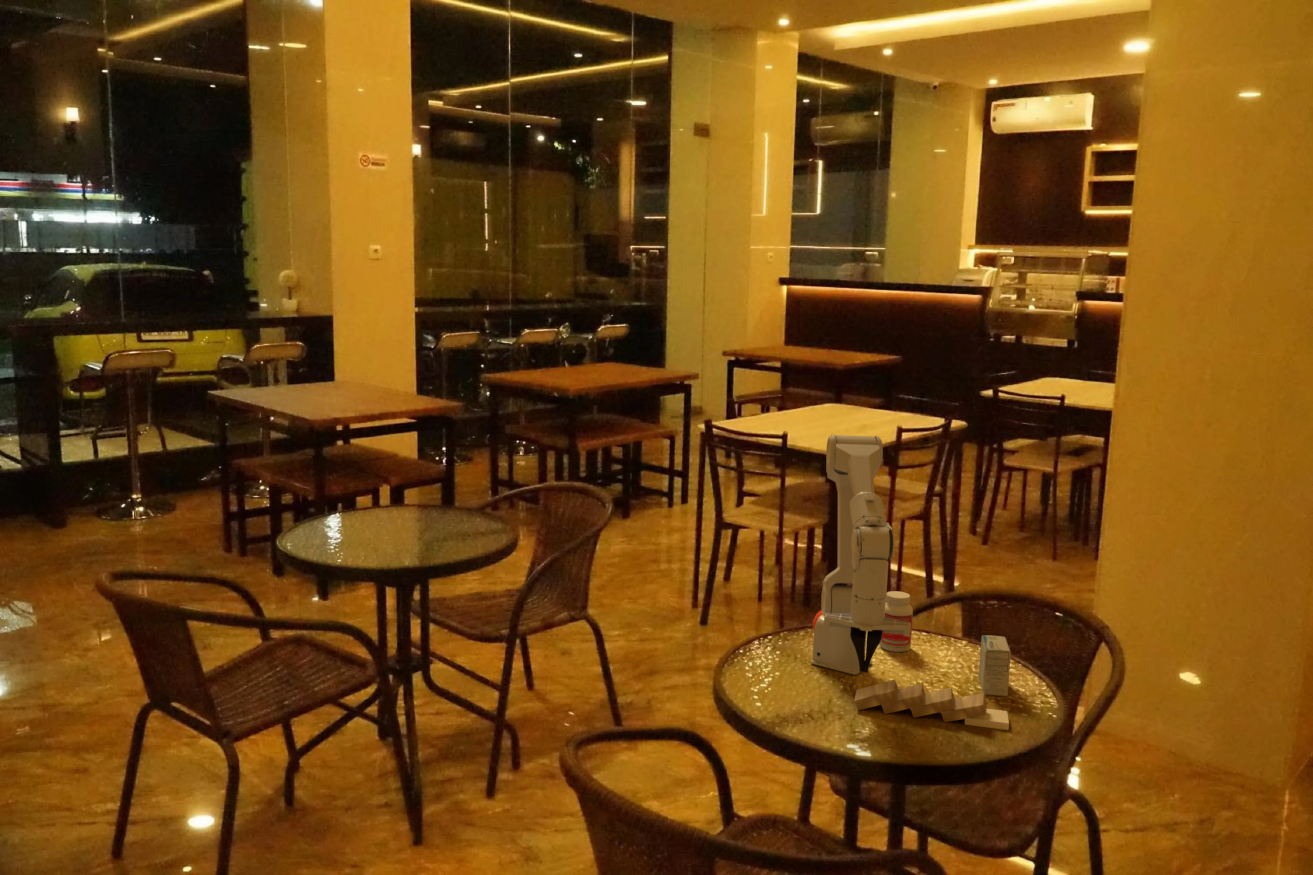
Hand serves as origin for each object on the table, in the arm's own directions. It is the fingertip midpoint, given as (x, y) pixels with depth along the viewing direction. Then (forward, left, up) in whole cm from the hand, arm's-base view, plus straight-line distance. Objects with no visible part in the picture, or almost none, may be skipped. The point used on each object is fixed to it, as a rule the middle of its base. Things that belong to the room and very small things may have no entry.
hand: (864, 670), depth 180 cm
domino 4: (+13, +4, -5) cm, 15 cm away
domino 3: (+8, +3, -6) cm, 10 cm away
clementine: (-18, +25, -7) cm, 32 cm away
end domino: (+16, +6, -6) cm, 18 cm away
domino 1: (-1, -1, -6) cm, 6 cm away
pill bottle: (-6, +30, -7) cm, 31 cm away
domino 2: (+4, +1, -6) cm, 7 cm away
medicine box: (+16, +22, -7) cm, 28 cm away
